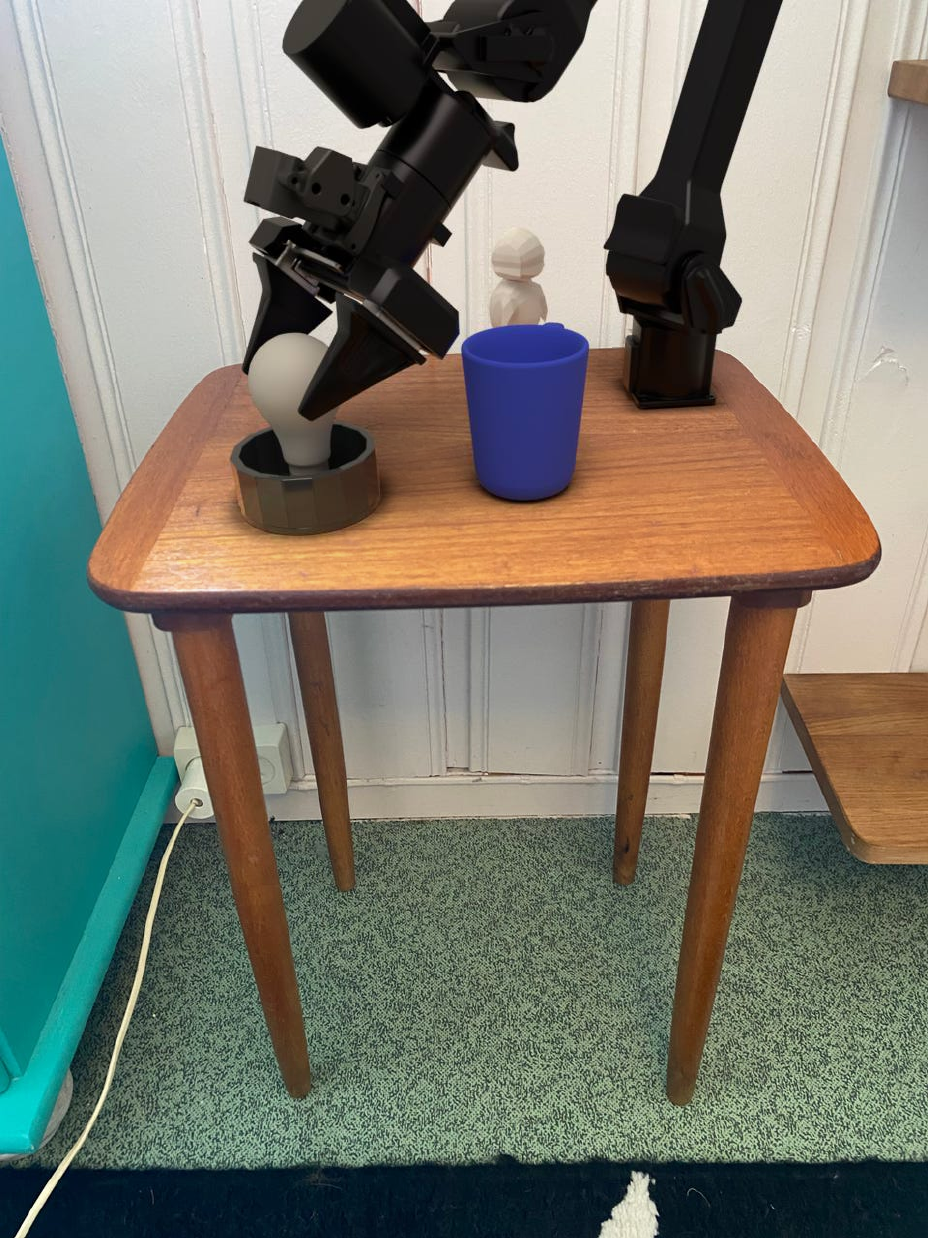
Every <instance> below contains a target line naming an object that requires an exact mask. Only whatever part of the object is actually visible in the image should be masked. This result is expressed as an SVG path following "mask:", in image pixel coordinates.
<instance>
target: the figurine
mask: <svg viewBox="0 0 928 1238" xmlns="http://www.w3.org/2000/svg"><path fill="white" fill-rule="evenodd" d="M545 254H546V251H545V247H544V245H543V244H542V242H541V241H540V239H539V237H538V236H537V235H535V234H534V233H533V232H531V231H530V230H528V229H527V228H522V227H511V228H510V229H508V230H506V231H505V232H504V233H503V234H501V236H500V237H499V238H498V240H497V241H496V243H495V244H494V246H493V251H492V253H491V258H490V259H491V265H492V269H493V272H494V274H495V275H496V277H499V278H501V280H500V281H499V282H498V283H497V285H496V286H495V288H494V289H492V292H491V295H490V299H489V305H488V314H489V315H488V316H489V320H490V324H491V327H492V328H495V327H501V326H509V325H526V324H531V325H540V322H541V320H542V321H543V322H544V323H547V317H548V314H549V313H548V312H549V309H548V303H547V298H546V295H545V293H544V290H543V287H542V285H541V284H540V283H538V282H535V281H533V279H534V278H535V277H538V276H540V274H541V273H542V272H543V270H544V267H545V265H546V263H545Z"/></svg>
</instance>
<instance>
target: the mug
mask: <svg viewBox="0 0 928 1238" xmlns="http://www.w3.org/2000/svg"><path fill="white" fill-rule="evenodd" d="M460 348H461V349H460V352H461V361H462V369H463V378H464V386H465V396H466V405H467V413H468V421H469V429H470V439H471V447H472V456H473V464H474V465H473V466H474V471H475V474H476V477H477V479H478V482H479V483H480V485H481V486H482V487H483V489H485V491H487V492H489V493H490V494H492V495H494V496H497V497H500V498H502V499H507V500H512V501H513V500H514V501H535V500H540V499H546V498H549V497H552V496H554V495H556V494H559V493H560V492H561V491H563V490H564V489H565V488H566V487H567V486H568V485H569V484H570V482H571V481H572V478H573V476H574V473H575V469H576V462H577V454H578V445H579V437H580V428H581V420H582V413H583V412H582V411H583V405H584V397H585V388H586V387H585V386H586V379H587V370H588V363H589V353H590V343H589V341H588V339H587V338H586V336H584V335H582V334H581V333H579V332H577V331H574V330H572V329H569V328H565V325H564V324H563V323H561V322H551V321H548V322H544V323H543V324H538V325H531V324H526V325H509V326H501V327H495V328H493V327H492V328H491V327H490V328H486V329H484V330H481V331H478V332H476V333H473V334H471V335H470V336H468V337H467V338H466V339H464V340H463V342H462V344H461V347H460Z"/></svg>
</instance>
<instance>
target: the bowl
mask: <svg viewBox="0 0 928 1238" xmlns="http://www.w3.org/2000/svg"><path fill="white" fill-rule="evenodd" d="M330 451H331V454H330V457H329V459H328V466H329V470H328V471H324V472H320V473H315V474H311V475H296V476H291V473H290V470H289V464H288V463H287V462H286V461H285V459H284V456H283V451H282V447H281V445H280V442H279V439H278V437H277V436H276V434H275V432H274V430H273V429H272V427H271V426H270V425H269V426H267V427H265V428H263V429H260V430H258V431H256V432H252V433H250V434H248V435H246V436H245V437H244V438H243V439H241V440H240V441H238V443H236V444H235V445H234V446H233V448H232V450H231V453H230V456H229V463H230V467H231V468H230V469H231V473H232V478H233V483H234V488H235V493H236V498H237V503H238V506H239V508H240V512H241V515H242V517H243V518H244V520H245V521H246V522H247V523H248V524H250V525H251V526H253V527H255V528H257V529H259V530H262V531H264V532H267V533H273V534H279V535H285V536H286V535H289V536H290V535H291V536H307V535H315V534H321V533H322V534H323V533H328V532H332V531H337V530H339V529H343V528H345V527H346V528H347V527H348V526H351V525H353V524H355V523H358V522H360V521H361V520H364V519H365V518H366V517H368V516H369V515H371V513H372V512H373V511H375V510H376V509H377V507H378V505H379V504H380V501H381V480H380V470H379V468H380V467H379V459H378V449H377V440H376V437H375V436H374V435H373V434H372V433H371V432H370V431H369V430H368V429H367V428H365V427H362V426H359V425H357V424H354V423H351V422H348V421H342V420H341V421H340V420H334V421H333V425H332V429H331V436H330Z"/></svg>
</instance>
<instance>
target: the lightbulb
mask: <svg viewBox="0 0 928 1238" xmlns="http://www.w3.org/2000/svg"><path fill="white" fill-rule="evenodd" d="M328 347H329V346H328V345H327V344H326V343H325V342H324V341H322V340H320V339H318V338H316V337H315V336H312V335H310V334H308V335H306V334H302V333H287V334H282V335H279V336H276V337H274V338H272V339H271V340H269V341H267V342H266V343H265V344H264V345H263V346H261V347H260V348H259V350H258V351H257V353H256V354H255V356H254V357H253V360H252V362H251V364H250V369H249V374H248V375H247V386H248V387H247V388H248V391H249V396H250V397H251V400H252V403H253V404H254V407H255V408H256V409H257V410H258V412H259V413H260V415H261V417H262V418H263V419H264V420H265V421H266V423H267V424H268V425H269V427H270V426H271V427H272V429H273V430H274V432H275V434H276V436H277V437H278V439H279V442H280V445H281V447H282V451H283V456H284V459H285V461H286V462H287V463H288V464H289V470H290V473H291V476H296V475H311V474H315V473H320V472H324V471H328V470H329V466H328V459H329V457H330V454H331V451H330V436H331V429H332V425H333V421H335V419H336V416H337V415H338V412H339V410H340V407H341V405H340V406H338V407H336V408H334V409H333V410H331V411H329V412H328V413H326V414H324V415H323V416H321V417H319V418H318V419H316V420H314V421H308V420H307V419H306V418H304V417H303V416H301V415H300V414H299V413H298V408H299V405H300V403H301V401H302V398H303V396H304V394H305V392H306V390H307V388H308V386H309V384H310V382H311V380H312V378H313V376H314V374H315V372H316V370H317V368H318V366H319V365H320V363H321V361H322V359H323V357H324V355H325V353H326V351H327V349H328Z"/></svg>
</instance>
